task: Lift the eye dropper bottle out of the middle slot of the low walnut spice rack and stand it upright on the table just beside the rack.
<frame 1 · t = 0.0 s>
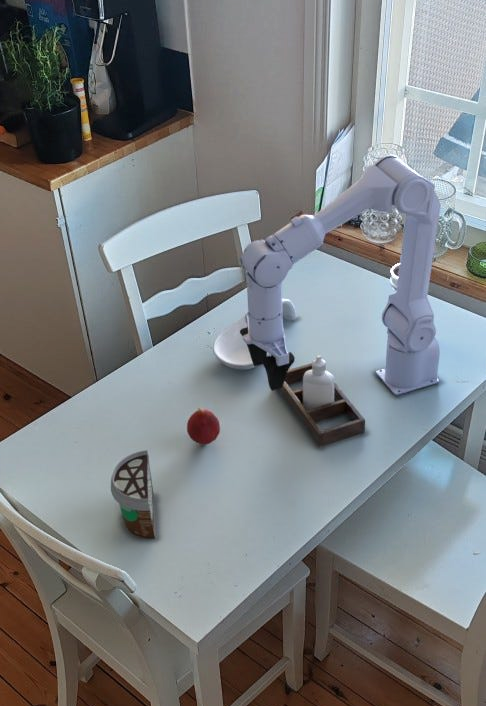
hand: (267, 375, 163), 10 cm above the table, tool pointing down, fingers open, 7 cm apart
spoon rest: (258, 345, 187), on the table
spice rack: (318, 408, 171), on the table
eye dropper bottle: (318, 409, 171), resting in spice rack
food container: (136, 520, 152), on the table
onion: (205, 443, 166), on the table
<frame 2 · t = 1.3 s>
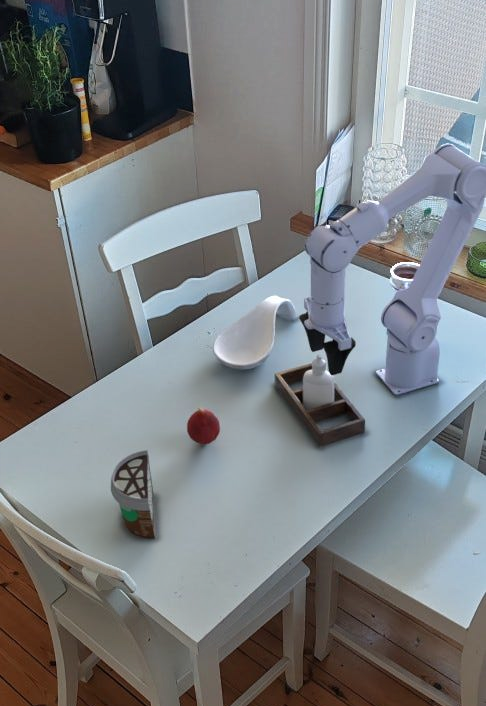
hand: (326, 361, 164), 10 cm above the table, tool pointing down, fingers open, 7 cm apart
nothing on the table moved.
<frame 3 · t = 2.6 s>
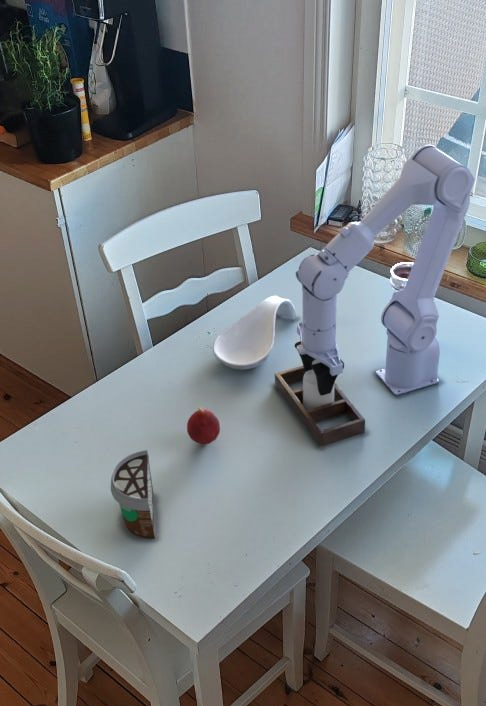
hand: (318, 384, 167), 6 cm above the table, tool pointing down, fingers closed on eye dropper bottle, 5 cm apart
eye dropper bottle: (318, 409, 171), resting in spice rack, touching gripper
everything else where it was.
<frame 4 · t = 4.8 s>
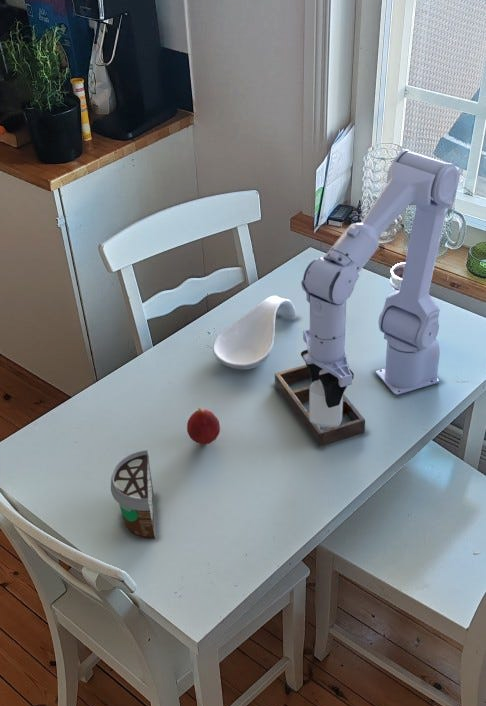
hand: (326, 396, 157), 10 cm above the table, tool pointing down, fingers closed on eye dropper bottle, 5 cm apart
eye dropper bottle: (325, 422, 161), point 5 cm above the table, touching gripper
everything else where it was.
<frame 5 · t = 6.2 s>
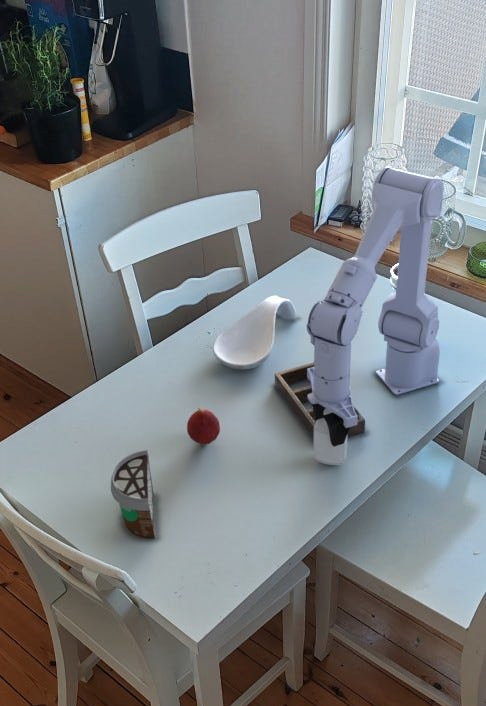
hand: (330, 434, 156), 6 cm above the table, tool pointing down, fingers closed on eye dropper bottle, 5 cm apart
eye dropper bottle: (329, 459, 160), point 1 cm above the table, touching gripper
everything else where it was.
when the fingers open (6 cm above the table, at t = 6.9 s): eye dropper bottle stays where it is, on the table.
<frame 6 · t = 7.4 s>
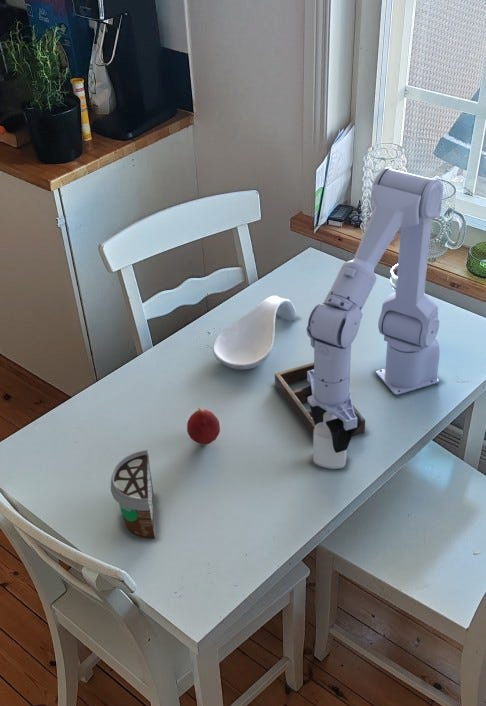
hand: (330, 436, 156), 6 cm above the table, tool pointing down, fingers open, 7 cm apart
eye dropper bottle: (329, 463, 160), on the table
everything else where it was.
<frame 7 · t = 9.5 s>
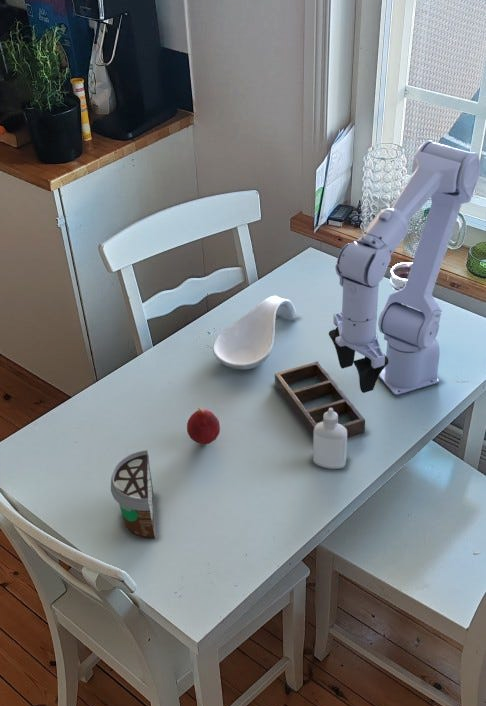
hand: (356, 378, 161), 10 cm above the table, tool pointing down, fingers open, 7 cm apart
nothing on the table moved.
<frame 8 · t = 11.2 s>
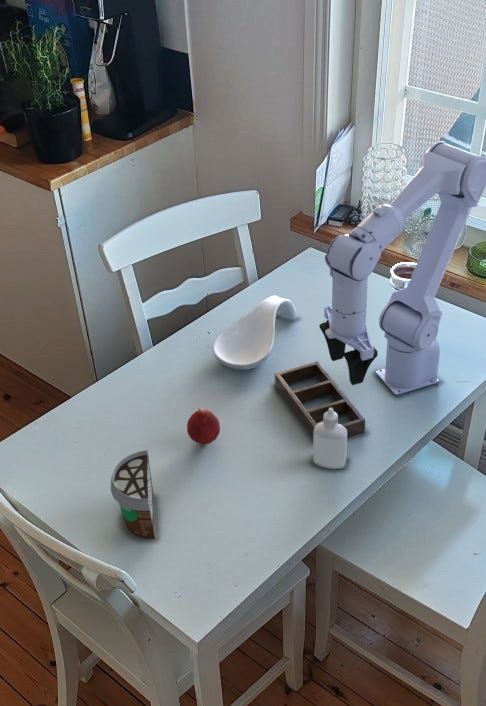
hand: (346, 370, 162), 10 cm above the table, tool pointing down, fingers open, 7 cm apart
nothing on the table moved.
at the end: eye dropper bottle 0.1 cm from the target spot, on the table; eye dropper bottle tilted 0°; the gripper is holding nothing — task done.
